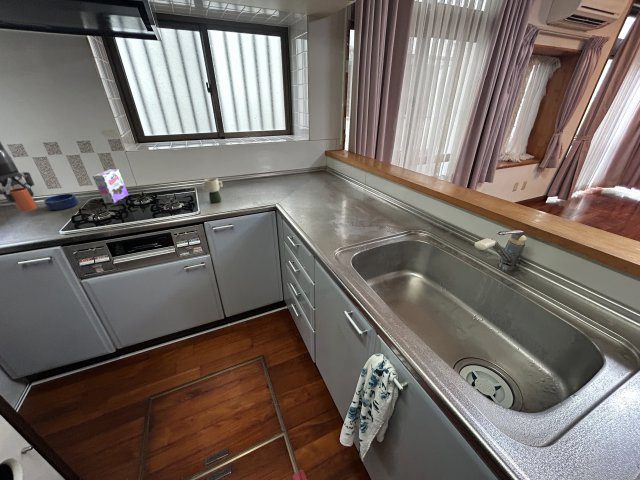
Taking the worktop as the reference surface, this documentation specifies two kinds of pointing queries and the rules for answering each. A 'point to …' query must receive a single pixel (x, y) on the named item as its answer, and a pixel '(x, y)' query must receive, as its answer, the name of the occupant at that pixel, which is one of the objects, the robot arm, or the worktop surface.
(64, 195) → the bowl
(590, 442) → the worktop surface
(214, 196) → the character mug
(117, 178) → the candy box
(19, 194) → the cup
